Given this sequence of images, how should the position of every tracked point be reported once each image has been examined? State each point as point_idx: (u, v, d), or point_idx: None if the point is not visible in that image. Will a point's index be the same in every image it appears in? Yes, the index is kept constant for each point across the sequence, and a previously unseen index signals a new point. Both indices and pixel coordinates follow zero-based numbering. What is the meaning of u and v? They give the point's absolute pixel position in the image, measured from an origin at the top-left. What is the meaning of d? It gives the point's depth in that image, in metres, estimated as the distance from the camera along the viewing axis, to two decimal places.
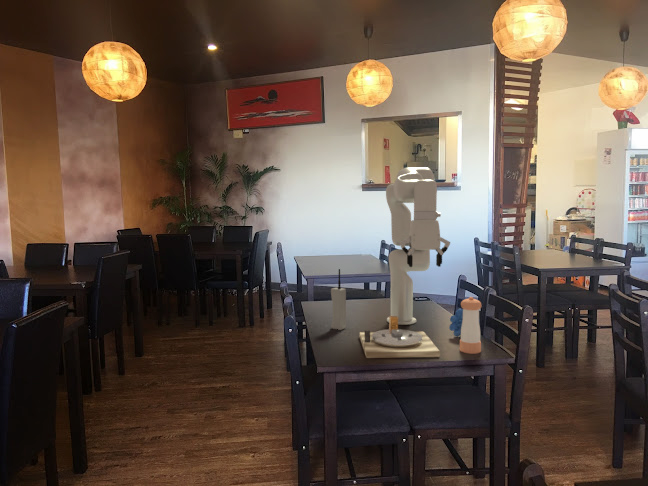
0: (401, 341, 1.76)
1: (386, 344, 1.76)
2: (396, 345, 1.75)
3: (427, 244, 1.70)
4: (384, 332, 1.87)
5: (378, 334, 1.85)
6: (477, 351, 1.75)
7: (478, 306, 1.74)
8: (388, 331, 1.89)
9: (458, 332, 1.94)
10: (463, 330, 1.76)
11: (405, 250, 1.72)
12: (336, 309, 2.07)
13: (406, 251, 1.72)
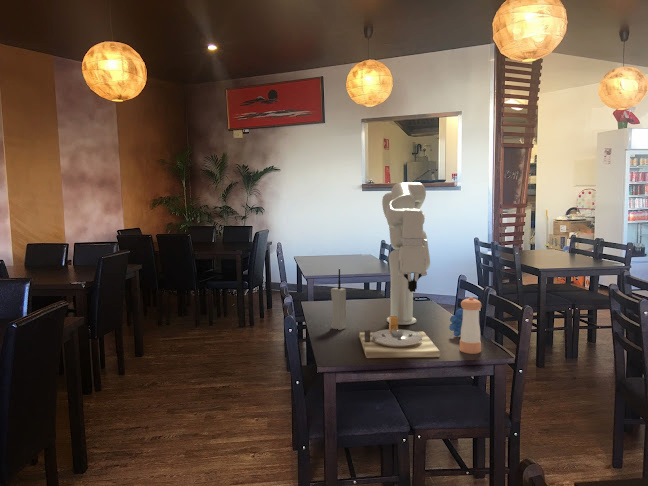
0: (401, 341, 1.76)
1: (386, 344, 1.76)
2: (396, 345, 1.75)
3: (414, 268, 1.87)
4: (384, 332, 1.87)
5: (378, 334, 1.85)
6: (477, 351, 1.75)
7: (478, 306, 1.74)
8: (388, 331, 1.89)
9: (458, 332, 1.94)
10: (463, 330, 1.76)
11: (406, 276, 1.89)
12: (336, 309, 2.07)
13: (407, 277, 1.89)
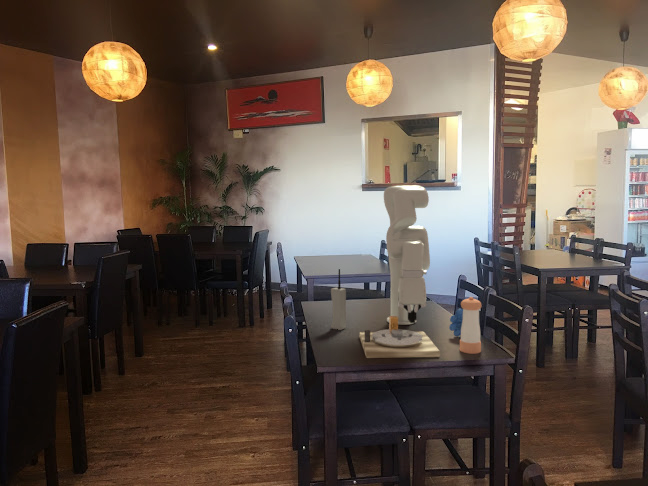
0: (401, 341, 1.76)
1: (386, 344, 1.76)
2: (396, 345, 1.75)
3: (414, 299, 1.88)
4: (384, 332, 1.87)
5: (378, 334, 1.85)
6: (477, 351, 1.75)
7: (478, 306, 1.74)
8: (388, 331, 1.89)
9: (458, 332, 1.94)
10: (463, 330, 1.76)
11: (406, 308, 1.90)
12: (336, 309, 2.07)
13: (407, 308, 1.90)
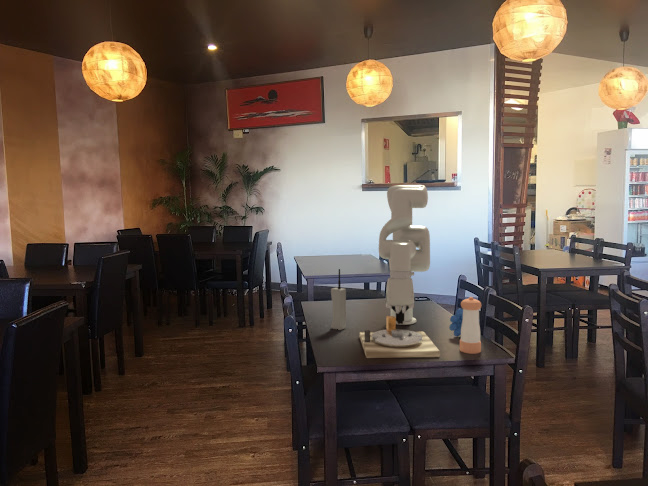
0: (404, 341, 1.76)
1: (389, 345, 1.75)
2: (399, 345, 1.75)
3: (402, 300, 1.88)
4: (383, 333, 1.87)
5: (378, 335, 1.84)
6: (477, 351, 1.75)
7: (478, 306, 1.74)
8: (386, 331, 1.89)
9: (458, 332, 1.94)
10: (463, 330, 1.76)
11: (394, 309, 1.90)
12: (336, 309, 2.07)
13: (395, 309, 1.90)
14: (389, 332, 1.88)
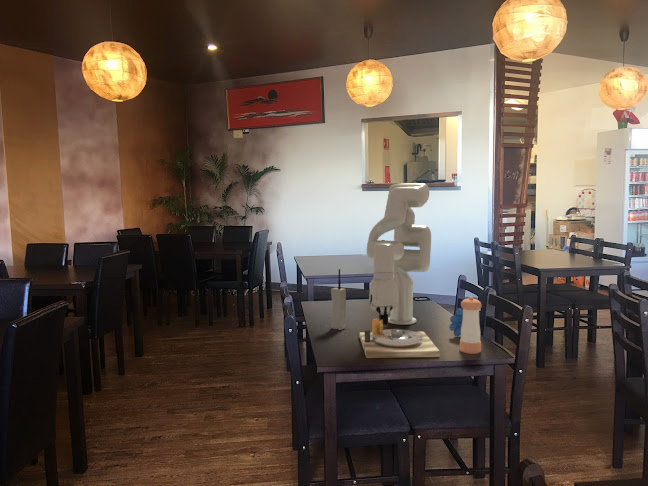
0: (416, 338, 1.80)
1: (411, 344, 1.75)
2: (418, 343, 1.77)
3: (387, 301, 1.87)
4: (382, 336, 1.82)
5: (384, 339, 1.79)
6: (477, 351, 1.75)
7: (478, 306, 1.74)
8: (379, 334, 1.85)
9: (458, 332, 1.94)
10: (463, 330, 1.76)
11: (378, 310, 1.88)
12: (336, 309, 2.07)
13: (379, 311, 1.88)
14: (383, 334, 1.85)
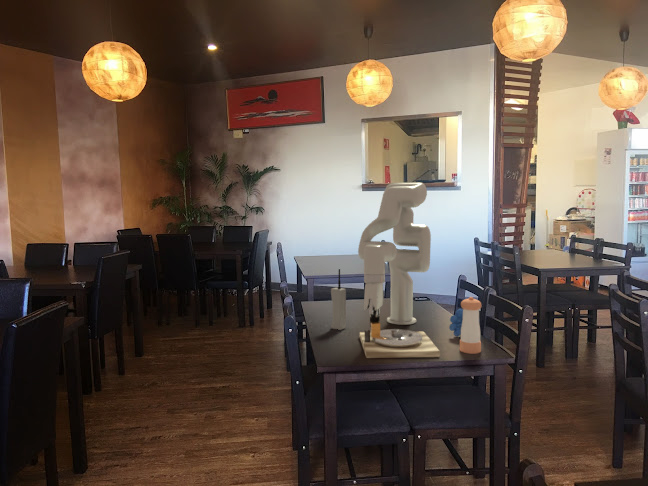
0: (416, 334, 1.85)
1: (420, 341, 1.79)
2: None
3: (380, 303, 1.85)
4: (388, 339, 1.79)
5: (395, 340, 1.77)
6: (477, 351, 1.75)
7: (478, 306, 1.74)
8: (382, 337, 1.81)
9: (458, 332, 1.94)
10: (463, 330, 1.76)
11: (375, 313, 1.83)
12: (336, 309, 2.07)
13: (375, 314, 1.84)
14: (385, 337, 1.82)
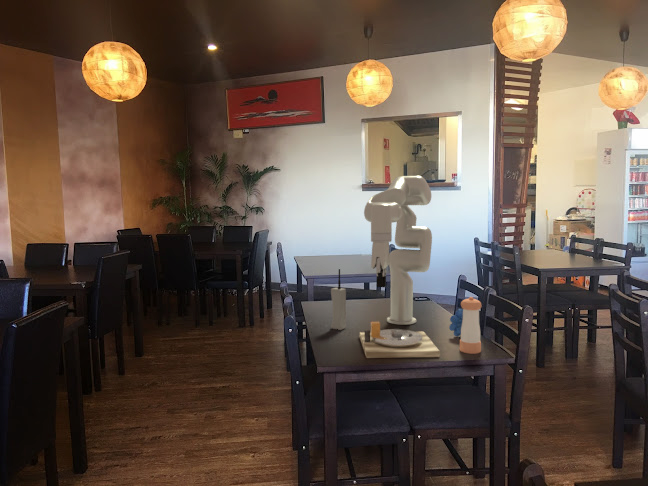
0: (416, 334, 1.84)
1: (420, 341, 1.79)
2: None
3: (387, 262, 1.86)
4: (388, 339, 1.79)
5: (395, 340, 1.77)
6: (477, 351, 1.75)
7: (478, 306, 1.74)
8: (382, 337, 1.81)
9: (458, 332, 1.94)
10: (463, 330, 1.76)
11: (382, 272, 1.84)
12: (336, 309, 2.07)
13: (382, 273, 1.84)
14: (384, 337, 1.82)
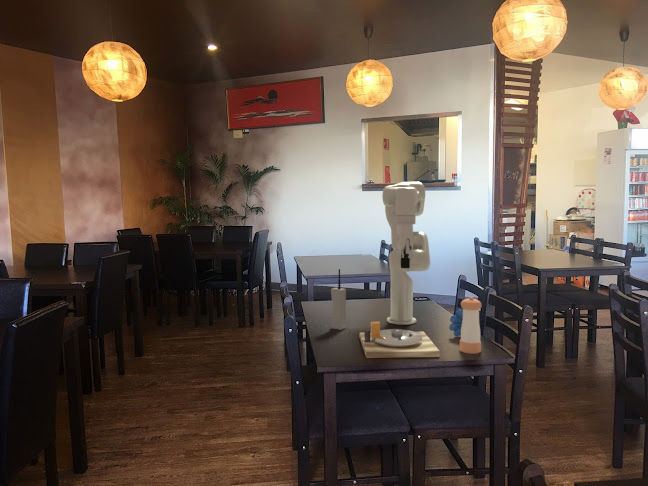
0: (416, 334, 1.84)
1: (420, 341, 1.79)
2: None
3: None
4: (388, 339, 1.79)
5: (395, 340, 1.77)
6: (477, 351, 1.75)
7: (478, 306, 1.74)
8: (382, 337, 1.81)
9: (458, 332, 1.94)
10: (463, 330, 1.76)
11: None
12: (336, 309, 2.07)
13: None
14: (384, 337, 1.82)
